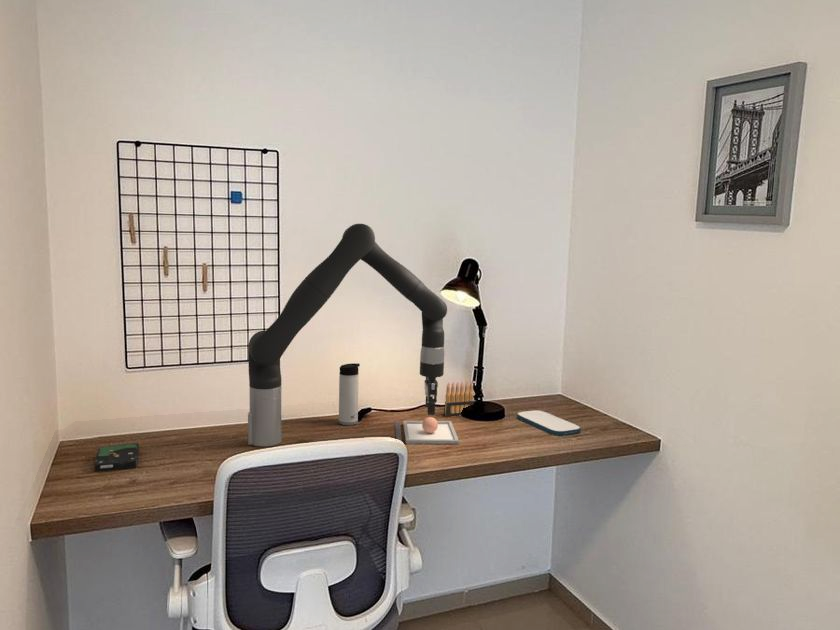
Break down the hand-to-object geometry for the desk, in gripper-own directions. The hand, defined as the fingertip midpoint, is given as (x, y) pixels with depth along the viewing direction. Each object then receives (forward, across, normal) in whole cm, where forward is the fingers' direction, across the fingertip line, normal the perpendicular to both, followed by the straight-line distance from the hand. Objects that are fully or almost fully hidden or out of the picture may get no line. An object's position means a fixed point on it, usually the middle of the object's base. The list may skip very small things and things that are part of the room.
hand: (429, 410), depth 210 cm
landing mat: (+8, 0, -1) cm, 8 cm away
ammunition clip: (+8, -21, +12) cm, 26 cm away
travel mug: (+8, -11, -26) cm, 29 cm away
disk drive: (+9, +25, -87) cm, 91 cm away
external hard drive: (+8, -11, +41) cm, 43 cm away
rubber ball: (+7, 0, 0) cm, 7 cm away
